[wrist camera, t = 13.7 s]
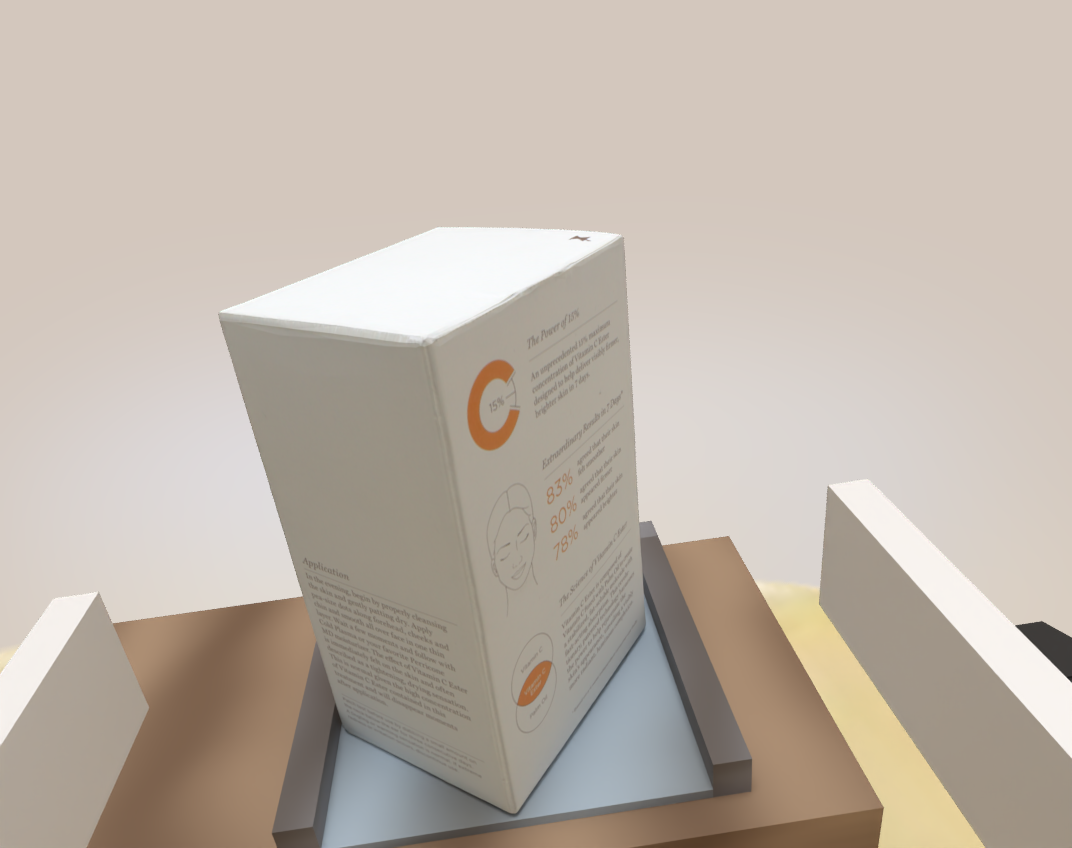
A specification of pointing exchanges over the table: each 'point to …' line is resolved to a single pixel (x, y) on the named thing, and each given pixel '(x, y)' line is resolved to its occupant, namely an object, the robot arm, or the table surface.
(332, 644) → the small box
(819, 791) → the dock
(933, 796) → the table surface
